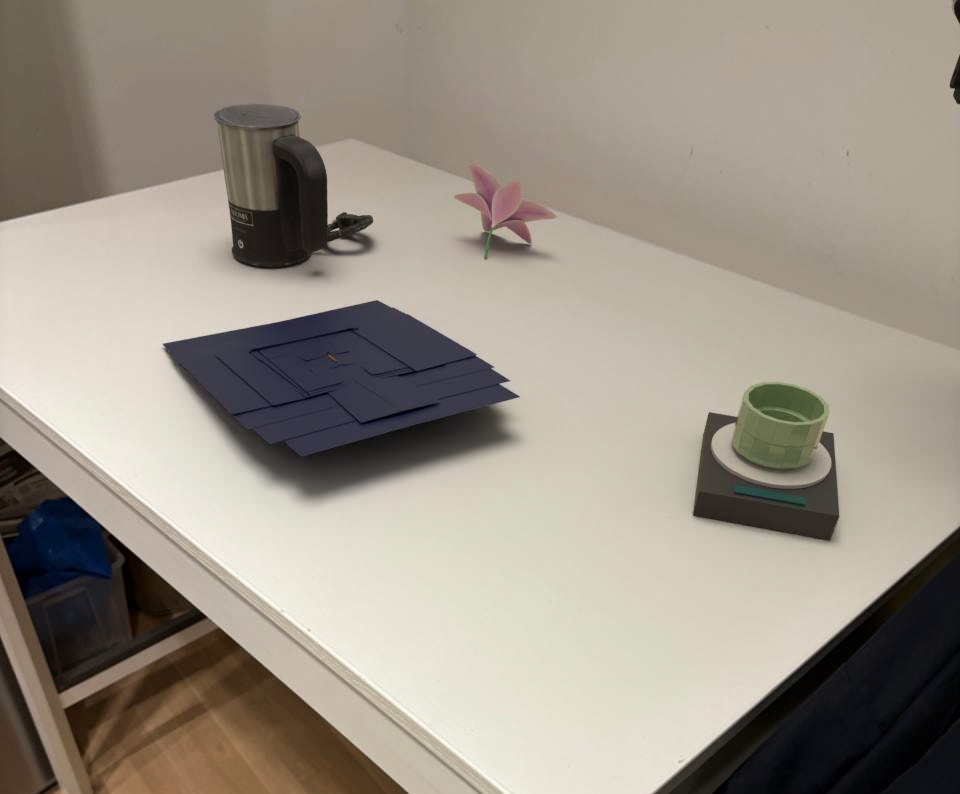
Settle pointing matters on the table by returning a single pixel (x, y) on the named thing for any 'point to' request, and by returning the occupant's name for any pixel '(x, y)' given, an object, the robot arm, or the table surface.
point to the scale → (765, 486)
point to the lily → (502, 204)
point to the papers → (339, 375)
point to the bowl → (779, 425)
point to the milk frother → (276, 187)
